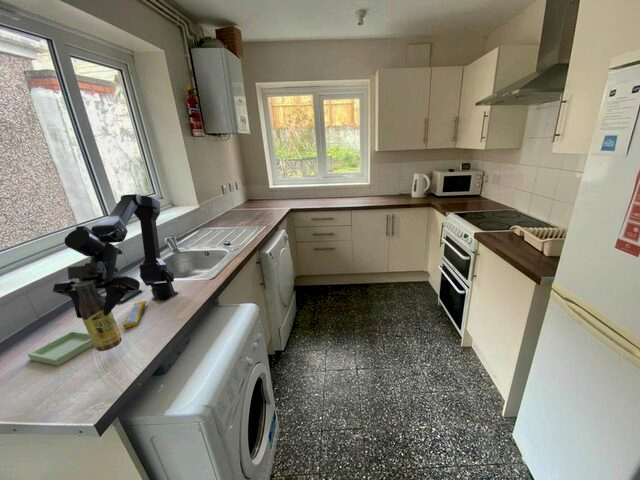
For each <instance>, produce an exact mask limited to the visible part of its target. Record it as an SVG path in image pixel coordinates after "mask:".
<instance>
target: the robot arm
mask: <svg viewBox="0 0 640 480" xmlns="http://www.w3.org/2000/svg"><path fill="white" fill-rule="evenodd" d="M133 215H134V216H135V217H136V218H137V219H138V220H139V222H140V223H139V224H140V230H141V231H140V232H141V238H142V246H143V254H144V260H143V262H142V263H139V266H138V268H139V276H140V279H141V281H142V282H143V283H144V285H145V286H146V287H150V288H151V290H150V291H151V294H152V296H153V297H152V300H155V301H163V302H164V301H165V302H166V301H167V300H169V299H171V298H172V297H174V296H176V295H177V294H179V293H178V291H175V290H174V287H173V282H175V273H174V272H172V271H171V270H169V269H168V266H167V263H165V261H164V260H163V259H162V258H161V251H160V250H161V249H160V243H159V234H158V227H157V220H158V218H159V217H160V215H161V202H160V200H159V199H158V198H156V197H155V196H149V195H148V196H146V195H142V194H140V193H125V194H122V195H121V196H120V200H119V201H118V202H117V203H116V206H115V207H114V208H113V209H112V211H111V212H110V213H109V214H108V216H107V217H106V218H104V219H101V220H99V221H98V222H96V223H95V224H94V225H93V226H92V227H91V229H90V228H89V227H88V226H86V225H77V226H76V227H75V229H74V230H72V231H70V232H69V233H68V234H67V235H66V236H65V237H64V245H65V246H66V247H68V248H69V249H71V250H73V251H75V252H77V253H79V254H81V255H83V256H85V257H90V260H89V262H87V263H84V265H78V266H77V265H76V266H67V279H68V280H64V281H57V282H56V283H54V284H53V289H52V293H56V294H59V295H62V296H65V297H69V298H70V300H71V302H72V304H73V307H74V310H75V314H76V318H77V319H82V316H81V314H80V312H79V305H80V303H81V300H80V297H79V294H78V292H77V291H76V290H75V288H74V285H75V284H76V283H78V282H76V281H74V279H76V280H77V279H78V281H79V282H81V281H86V280H93V281H94V283H95V288H96V290H97V291H98V290H104V291H106V294H107V296H106V301H105V306H104V315H108V314H109V313H110V312H111V311H113V310H114V308H115V307H116V306H117V304H119V303H118V302H119V301H120V300H121V299H122V298H123V297H124V296H125V295H126V294H129V291H134V290H140V287H141V286H140V285H141V284H140V281H139V280H138V279H136V278H134V277H132V276H130V275H116V276H115V273H119V268H117V267H116V266H117V265H116V264H117V259H118V255H124V252H123V250H122V249H121V248H120V247H119V245H114V244H113V243H115V244H116V243H123V242H124V241H125V239H126V237H127V235H128V229H127V224H128V223H129V221H131V218H132V217H133Z"/></svg>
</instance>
